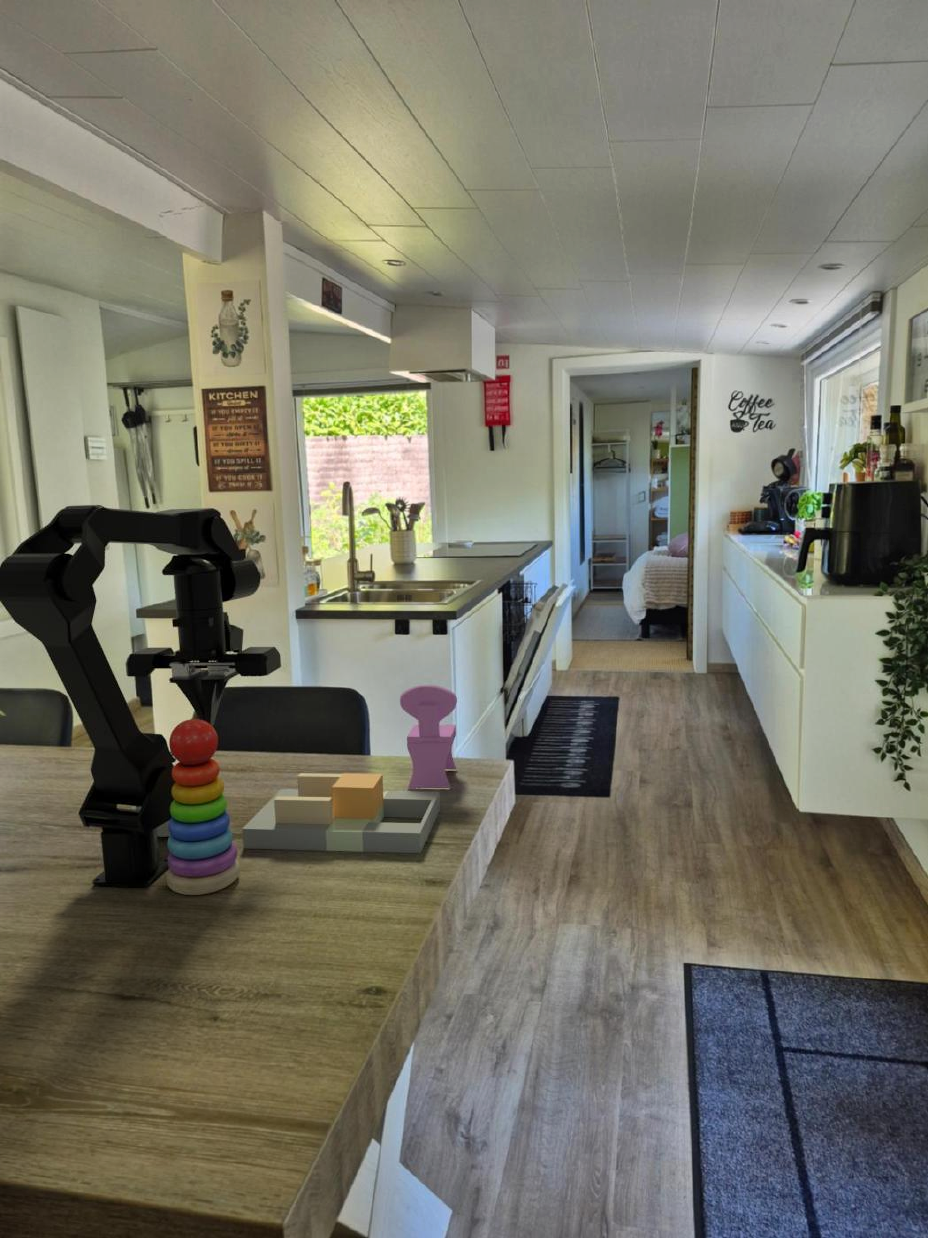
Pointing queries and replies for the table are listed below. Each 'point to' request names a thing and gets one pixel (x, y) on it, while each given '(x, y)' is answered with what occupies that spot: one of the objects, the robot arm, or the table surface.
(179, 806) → the stacking toy
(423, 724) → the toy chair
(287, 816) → the tunnel board
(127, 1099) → the table surface
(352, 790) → the block
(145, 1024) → the table surface
